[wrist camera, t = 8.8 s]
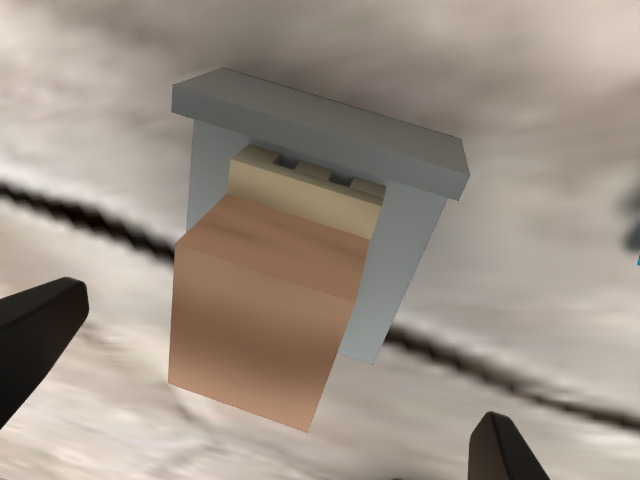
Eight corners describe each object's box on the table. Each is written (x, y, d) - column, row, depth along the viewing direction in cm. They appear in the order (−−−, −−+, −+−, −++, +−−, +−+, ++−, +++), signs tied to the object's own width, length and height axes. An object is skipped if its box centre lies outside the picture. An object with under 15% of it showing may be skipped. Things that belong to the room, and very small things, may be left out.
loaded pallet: (328, 350, 22) (299, 453, 17) (224, 315, 23) (166, 405, 18) (386, 186, 17) (369, 264, 12) (249, 143, 18) (177, 202, 12)
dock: (377, 333, 24) (368, 393, 21) (202, 274, 25) (163, 322, 21) (460, 139, 18) (469, 175, 14) (223, 67, 19) (172, 84, 15)
